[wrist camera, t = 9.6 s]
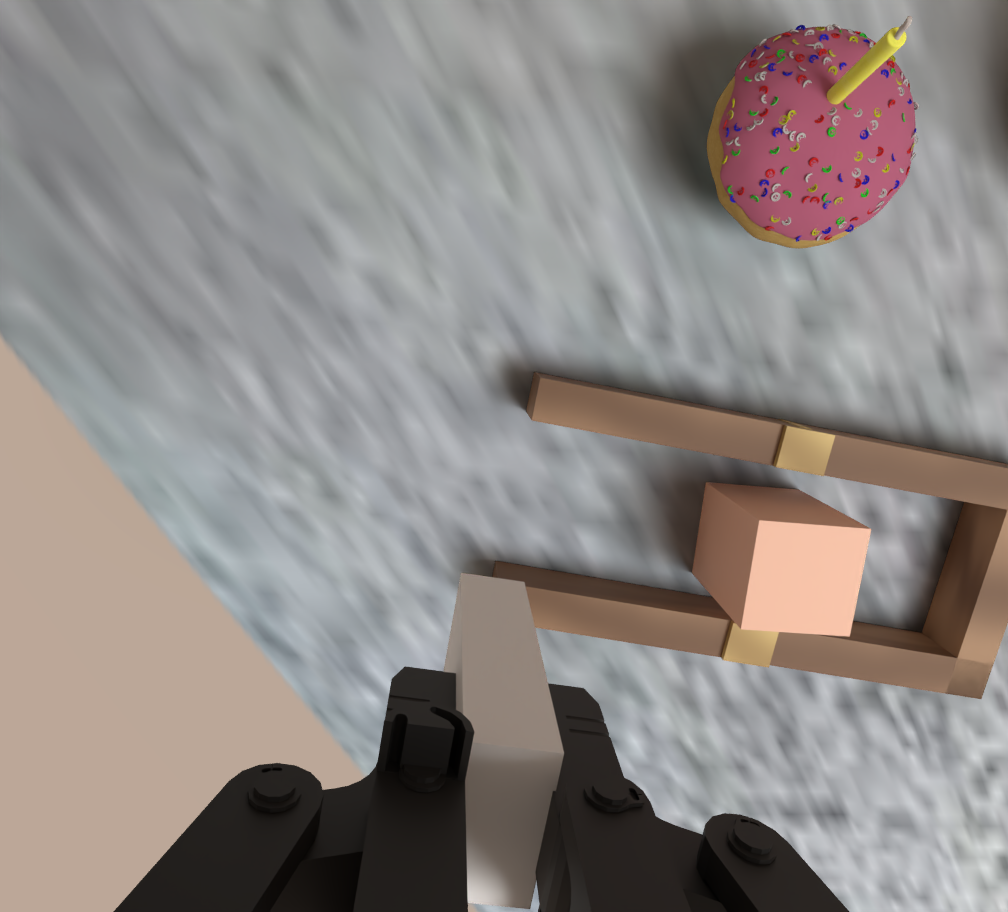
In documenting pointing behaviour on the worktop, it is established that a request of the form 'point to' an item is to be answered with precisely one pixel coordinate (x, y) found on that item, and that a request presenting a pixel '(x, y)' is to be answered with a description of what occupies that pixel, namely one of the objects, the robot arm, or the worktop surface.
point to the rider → (780, 559)
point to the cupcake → (813, 134)
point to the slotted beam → (784, 444)
